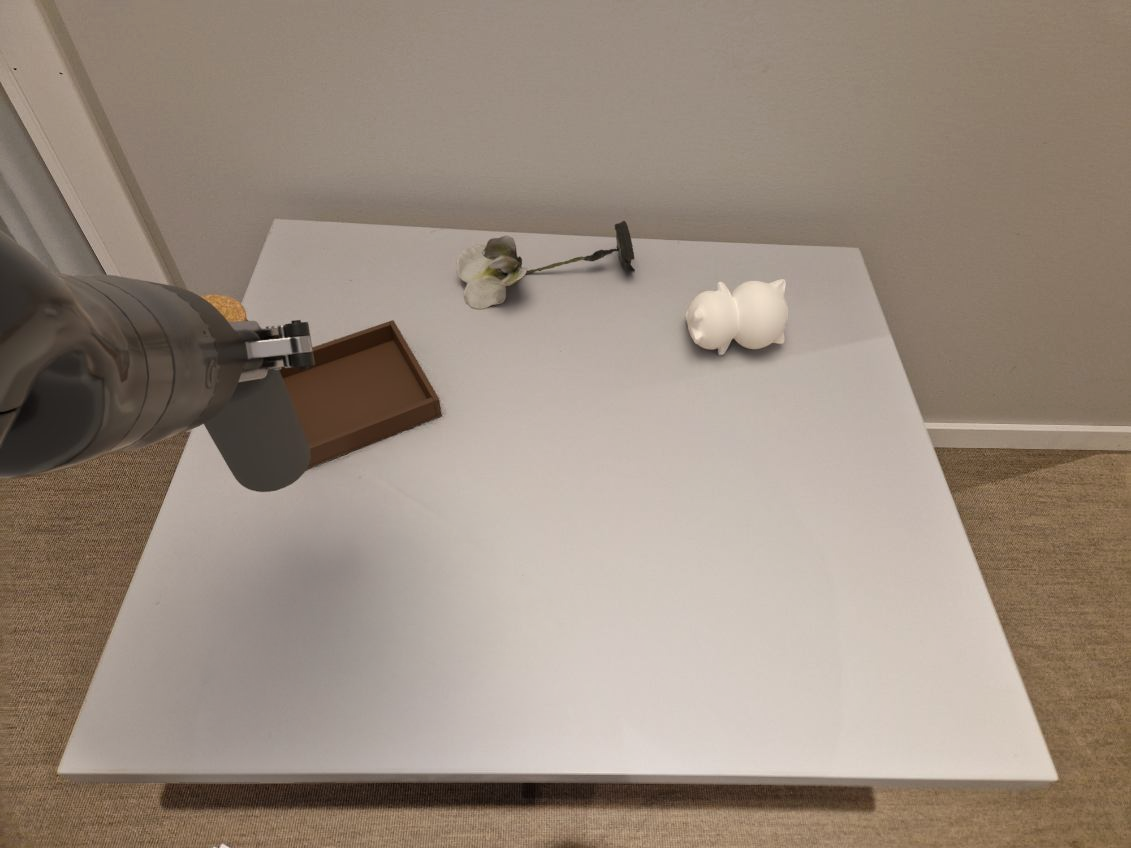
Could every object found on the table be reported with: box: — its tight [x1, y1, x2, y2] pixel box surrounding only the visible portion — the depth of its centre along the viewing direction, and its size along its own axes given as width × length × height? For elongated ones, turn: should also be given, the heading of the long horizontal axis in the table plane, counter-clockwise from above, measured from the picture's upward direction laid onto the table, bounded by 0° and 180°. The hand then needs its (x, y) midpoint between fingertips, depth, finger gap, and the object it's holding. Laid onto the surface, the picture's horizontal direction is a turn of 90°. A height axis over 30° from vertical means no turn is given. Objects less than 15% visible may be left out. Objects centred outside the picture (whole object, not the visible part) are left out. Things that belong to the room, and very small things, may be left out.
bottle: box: [199, 294, 311, 493], centre depth 50 cm, size 6×6×15 cm
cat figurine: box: [684, 278, 789, 356], centre depth 86 cm, size 9×11×12 cm
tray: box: [279, 319, 443, 470], centre depth 79 cm, size 15×13×3 cm
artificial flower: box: [455, 220, 636, 310], centre depth 90 cm, size 9×22×10 cm, turn 102°
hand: (231, 353), depth 49 cm, fingers closed on bottle, 5 cm apart
